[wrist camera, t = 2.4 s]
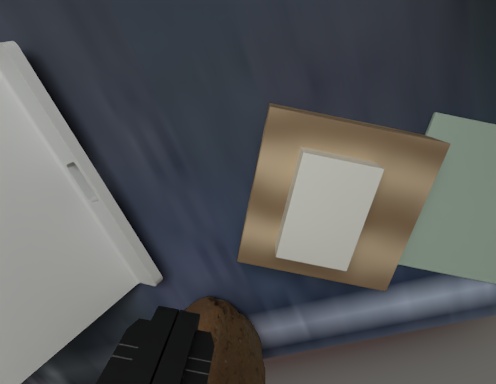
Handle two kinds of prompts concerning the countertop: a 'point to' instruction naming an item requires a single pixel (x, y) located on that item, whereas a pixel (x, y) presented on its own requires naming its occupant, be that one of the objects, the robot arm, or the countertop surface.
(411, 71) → the countertop surface
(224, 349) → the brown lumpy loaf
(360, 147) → the board
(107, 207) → the tablet stand
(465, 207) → the mat
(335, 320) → the countertop surface
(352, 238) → the pale grey rectangular block
